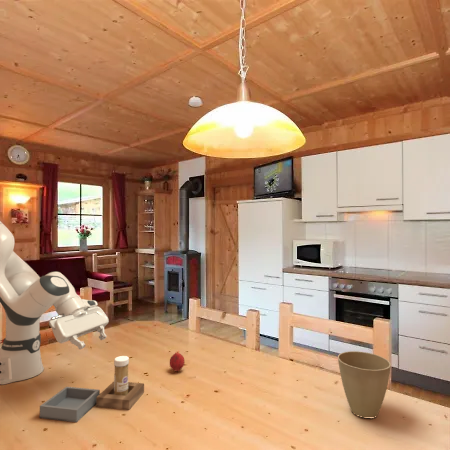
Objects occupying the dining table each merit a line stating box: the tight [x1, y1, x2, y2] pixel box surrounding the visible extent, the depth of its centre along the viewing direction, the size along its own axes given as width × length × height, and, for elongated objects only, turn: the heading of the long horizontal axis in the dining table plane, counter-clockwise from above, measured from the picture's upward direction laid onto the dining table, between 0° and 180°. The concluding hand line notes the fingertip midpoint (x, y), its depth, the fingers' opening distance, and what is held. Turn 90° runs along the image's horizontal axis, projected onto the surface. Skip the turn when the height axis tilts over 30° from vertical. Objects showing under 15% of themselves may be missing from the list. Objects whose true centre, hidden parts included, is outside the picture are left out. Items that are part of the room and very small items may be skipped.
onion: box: [169, 350, 186, 373], centre depth 127 cm, size 6×6×8 cm
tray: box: [39, 386, 101, 423], centre depth 100 cm, size 12×12×4 cm
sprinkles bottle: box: [113, 355, 130, 396], centre depth 106 cm, size 5×5×13 cm
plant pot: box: [337, 350, 392, 417], centre depth 99 cm, size 15×15×16 cm
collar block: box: [95, 381, 145, 411], centre depth 106 cm, size 11×11×3 cm
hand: (93, 343), depth 110 cm, fingers open, 8 cm apart
